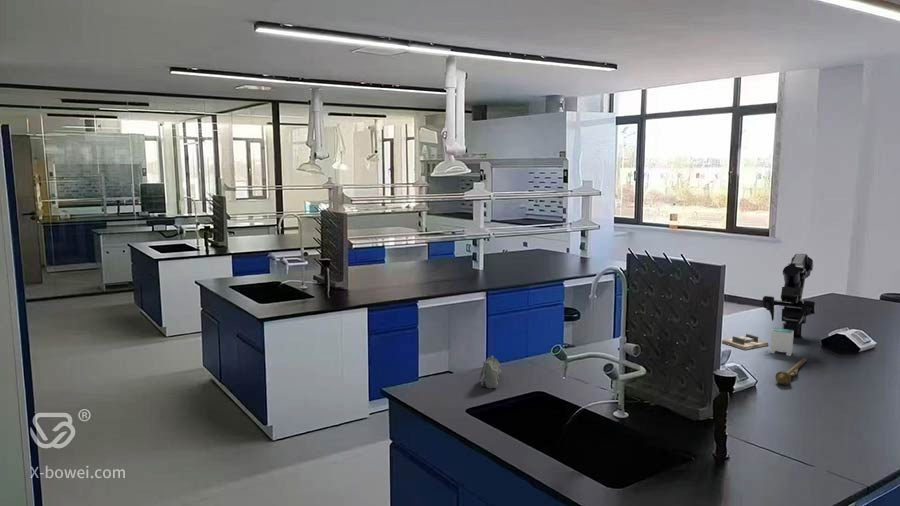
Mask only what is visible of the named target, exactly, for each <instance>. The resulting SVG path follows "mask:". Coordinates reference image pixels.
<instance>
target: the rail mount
mask: <svg viewBox="0 0 900 506" xmlns="http://www.w3.org/2000/svg"><path fill="white" fill-rule="evenodd" d="M721 343H722V344H724V343H725V344H724V345H727V344H729V345H728V346H731V347H734V348H737V349H740V350H745V351H746V350H750V349H757V348H762V347H766V346H769V342H768V341H764V340H762V339H759V336H757V335H753V334H750V333H746V334H745V335H742V336H735V335H733V336H732V337H731V338H725V339H722V340H721Z"/></svg>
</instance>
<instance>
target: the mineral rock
mask: <svg viewBox="0 0 900 506" xmlns="http://www.w3.org/2000/svg"><path fill="white" fill-rule="evenodd" d="M501 365H502V364H501V363H500V362H499V360H498V359H496V358H495V357H494V355H490V356H489V357H487V359H486V360H484V361H483V365H482V366H483V367H482V369H481V371H480V376H479V381H480V385H481V387H482V388H487V389H496V388H498V387H499V379H500V378H502V374H503V371H502V367H501Z"/></svg>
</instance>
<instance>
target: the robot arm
mask: <svg viewBox="0 0 900 506" xmlns="http://www.w3.org/2000/svg"><path fill="white" fill-rule="evenodd" d="M790 260H791V261H790V263H788V264H787V265H786V266H784V268H783V270H782V276H783V281H784V285H783V286H782V287H781V292H780V293H781V294H780V300H779V299H778V300H777V299H775V296H771V295H764V296H763V297H762V300H761V301H762V308H763V309H765V310H766V311H769V313H770V317H771V320H772V322H773V321H774V320H775V306H779V307H782V309H781V322H783V323H782V328H781V329H788V330H793V331H794V336H793V338H803V335H802V327H803V324H806V323H807V317H808V316H811V315H814V314H816V301H814V300H807V299H806V300H805V299H804V300H802V298H803V292H804V288H805V282H806V279H807V278H808V277H810V275H811V272H813V269H814V260H813V258H811V257H809V255H808V254H807V253H800V252H797V253H794V256H793V257H791V259H790Z"/></svg>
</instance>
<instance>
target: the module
mask: <svg viewBox="0 0 900 506" xmlns="http://www.w3.org/2000/svg"><path fill="white" fill-rule="evenodd" d="M793 336H794V331H793V330H788V329H782V328H779V327H774V328H773V329H772V330H771V338H770V339H771V341H770V351H769V352H770V353H771V354H775V353H776V351H780V352H786V356H788V357H791V356H792V354H793V346H794V337H793Z"/></svg>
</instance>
